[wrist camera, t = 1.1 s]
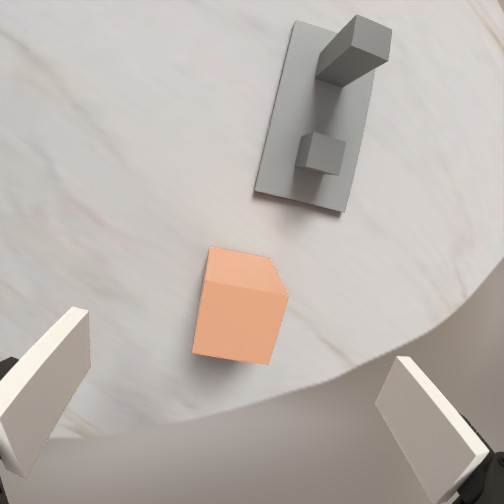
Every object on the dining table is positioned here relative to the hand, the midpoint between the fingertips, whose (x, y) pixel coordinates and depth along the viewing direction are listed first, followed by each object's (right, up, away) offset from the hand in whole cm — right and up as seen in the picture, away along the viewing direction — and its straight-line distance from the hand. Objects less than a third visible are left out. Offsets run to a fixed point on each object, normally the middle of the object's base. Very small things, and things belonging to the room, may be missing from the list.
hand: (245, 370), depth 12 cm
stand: (+6, +17, +13) cm, 22 cm away
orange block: (-1, +2, +16) cm, 16 cm away
